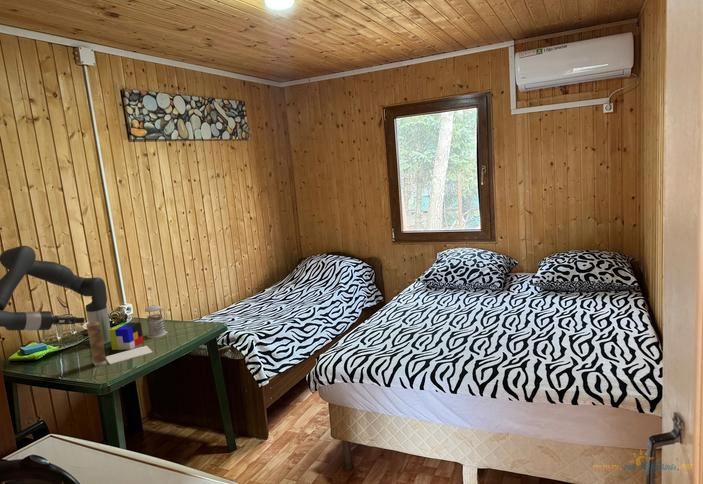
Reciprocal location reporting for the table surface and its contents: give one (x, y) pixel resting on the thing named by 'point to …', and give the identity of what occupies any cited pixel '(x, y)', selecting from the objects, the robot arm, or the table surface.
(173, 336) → the table surface
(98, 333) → the walnut block
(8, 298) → the robot arm
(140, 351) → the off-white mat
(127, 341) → the puzzle toy
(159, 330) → the french press
